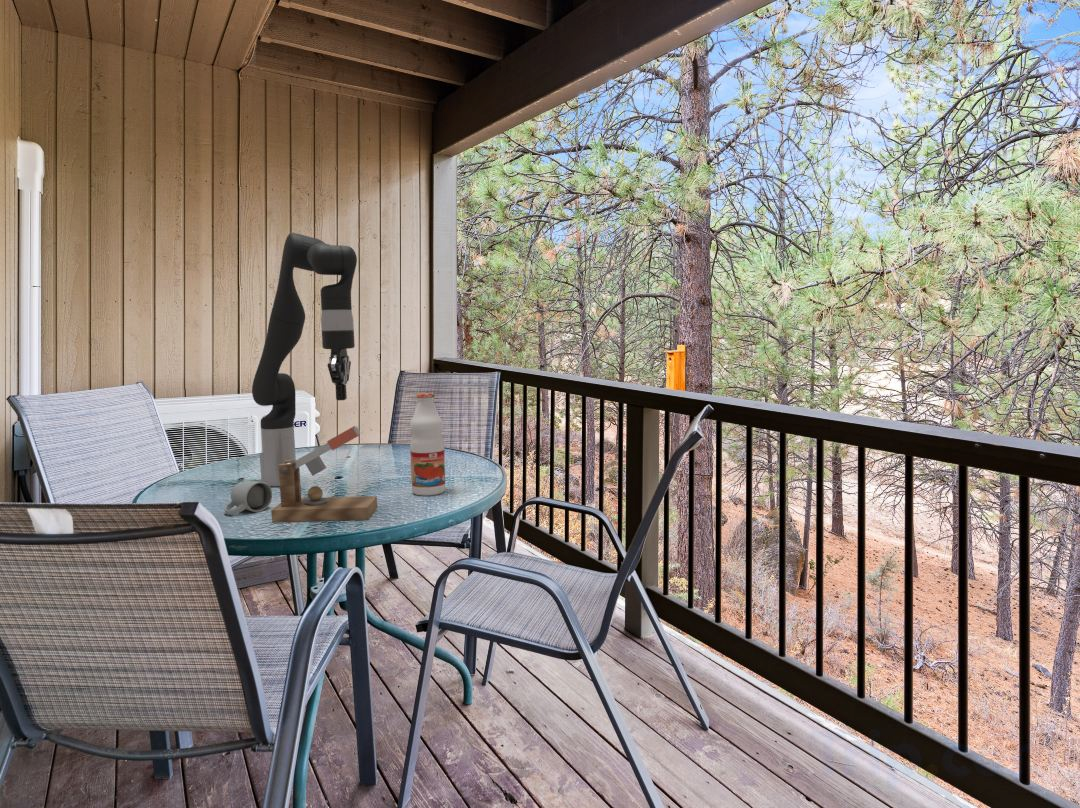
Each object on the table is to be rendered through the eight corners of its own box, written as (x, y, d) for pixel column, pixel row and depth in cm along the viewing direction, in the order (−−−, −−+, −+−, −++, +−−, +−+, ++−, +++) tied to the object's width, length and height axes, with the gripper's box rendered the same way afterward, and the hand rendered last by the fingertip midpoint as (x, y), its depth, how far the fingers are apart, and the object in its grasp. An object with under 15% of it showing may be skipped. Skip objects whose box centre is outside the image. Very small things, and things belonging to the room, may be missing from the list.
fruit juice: (440, 486, 194) (437, 391, 190) (449, 493, 185) (446, 393, 182) (408, 490, 190) (404, 392, 187) (416, 497, 181) (412, 395, 178)
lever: (291, 487, 164) (279, 467, 163) (295, 484, 167) (283, 465, 166) (365, 446, 163) (353, 426, 162) (368, 444, 166) (356, 424, 165)
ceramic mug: (255, 503, 178) (252, 475, 177) (274, 507, 173) (271, 479, 172) (217, 514, 169) (214, 484, 168) (236, 518, 165) (234, 488, 164)
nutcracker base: (272, 522, 160) (268, 467, 159) (287, 509, 171) (284, 458, 170) (368, 519, 161) (365, 464, 160) (377, 507, 172) (374, 456, 171)
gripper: (346, 328, 155) (350, 402, 157) (359, 328, 168) (363, 396, 170) (314, 329, 154) (318, 403, 156) (329, 329, 168) (333, 397, 170)
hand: (341, 399), depth 163 cm, fingers closed
